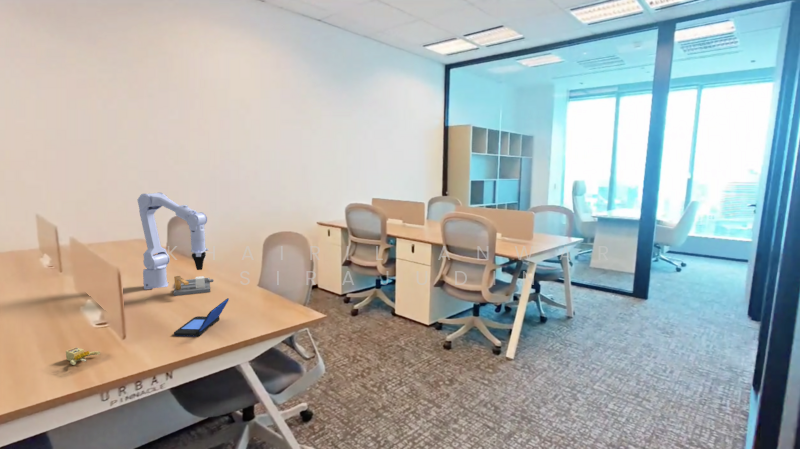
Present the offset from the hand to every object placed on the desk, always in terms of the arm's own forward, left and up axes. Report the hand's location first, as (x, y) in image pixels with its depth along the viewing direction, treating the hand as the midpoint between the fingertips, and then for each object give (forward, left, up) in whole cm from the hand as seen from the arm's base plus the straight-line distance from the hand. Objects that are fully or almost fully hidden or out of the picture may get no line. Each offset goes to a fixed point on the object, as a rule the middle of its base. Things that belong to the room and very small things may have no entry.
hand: (199, 269), depth 186 cm
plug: (+2, 0, -10) cm, 10 cm away
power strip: (-3, 0, -10) cm, 11 cm away
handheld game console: (+1, -47, -11) cm, 48 cm away
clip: (-7, -5, -8) cm, 12 cm away
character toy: (-32, -61, -11) cm, 70 cm away
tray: (-3, +11, -10) cm, 16 cm away
